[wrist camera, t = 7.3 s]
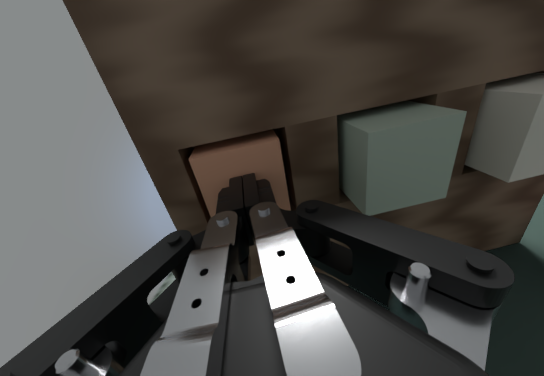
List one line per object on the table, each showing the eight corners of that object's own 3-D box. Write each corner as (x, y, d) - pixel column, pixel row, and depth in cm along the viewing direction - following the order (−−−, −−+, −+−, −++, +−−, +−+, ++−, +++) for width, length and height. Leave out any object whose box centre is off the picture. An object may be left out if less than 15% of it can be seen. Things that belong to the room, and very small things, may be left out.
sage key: (397, 168, 17) (404, 100, 15) (445, 197, 13) (466, 111, 11) (335, 182, 17) (332, 116, 15) (365, 216, 13) (368, 133, 11)
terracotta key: (279, 182, 18) (268, 122, 16) (291, 213, 15) (279, 139, 12) (220, 196, 18) (200, 137, 16) (216, 230, 14) (188, 159, 12)
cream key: (505, 143, 18) (530, 73, 15) (584, 164, 14) (634, 74, 11) (446, 157, 17) (461, 88, 15) (508, 182, 13) (542, 94, 11)
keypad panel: (465, 209, 25) (547, -62, 15) (519, 242, 20) (700, -126, 10) (223, 268, 24) (121, 19, 13) (220, 317, 19) (57, -9, 9)
